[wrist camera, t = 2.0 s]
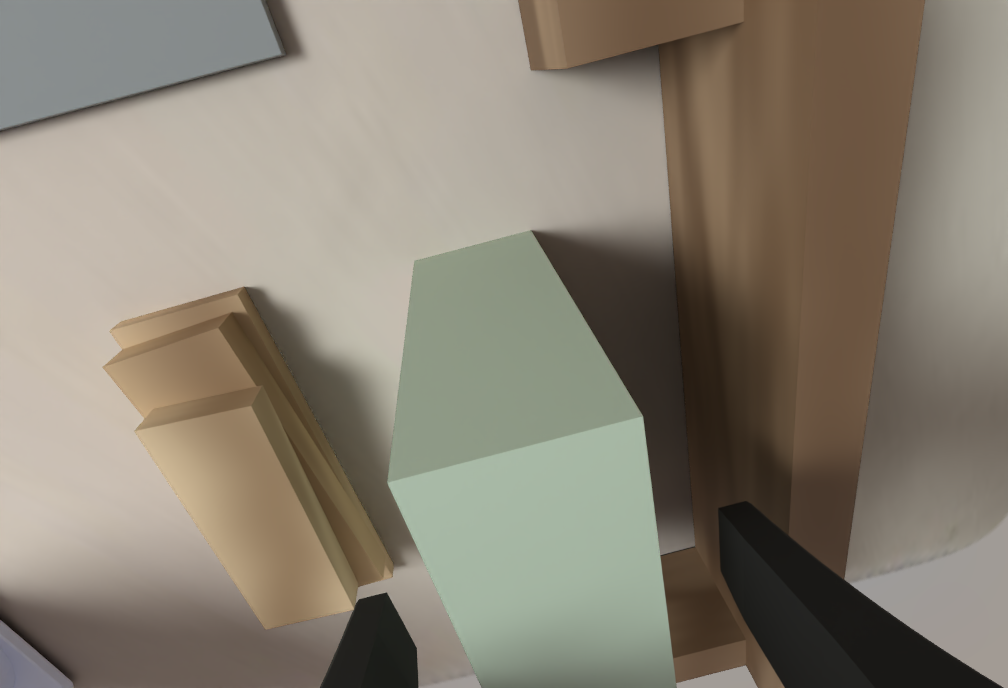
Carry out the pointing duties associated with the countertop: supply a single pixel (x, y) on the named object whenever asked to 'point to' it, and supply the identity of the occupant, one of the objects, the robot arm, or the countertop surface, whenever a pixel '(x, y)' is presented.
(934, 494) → the countertop surface
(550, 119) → the countertop surface
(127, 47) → the slate mat
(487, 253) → the tall sage green prism
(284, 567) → the offcut stack
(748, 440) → the walnut rack
